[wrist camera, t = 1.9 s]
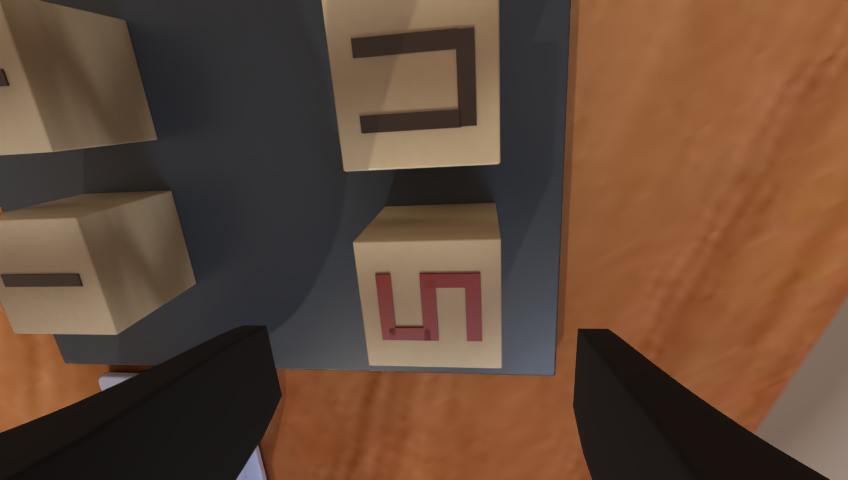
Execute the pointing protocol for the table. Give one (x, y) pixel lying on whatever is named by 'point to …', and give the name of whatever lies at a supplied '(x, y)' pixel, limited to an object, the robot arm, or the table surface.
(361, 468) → the table surface
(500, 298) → the block
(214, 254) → the letter board
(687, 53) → the table surface
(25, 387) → the table surface
